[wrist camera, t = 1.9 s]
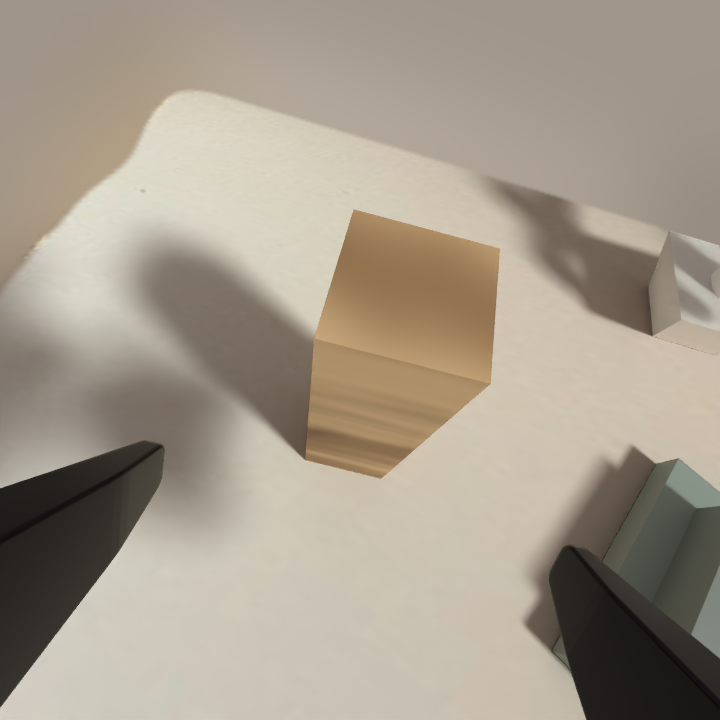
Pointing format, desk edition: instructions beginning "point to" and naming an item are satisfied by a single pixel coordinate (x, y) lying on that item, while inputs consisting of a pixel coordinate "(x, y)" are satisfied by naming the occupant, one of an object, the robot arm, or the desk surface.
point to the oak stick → (398, 342)
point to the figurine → (687, 293)
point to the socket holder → (673, 551)
